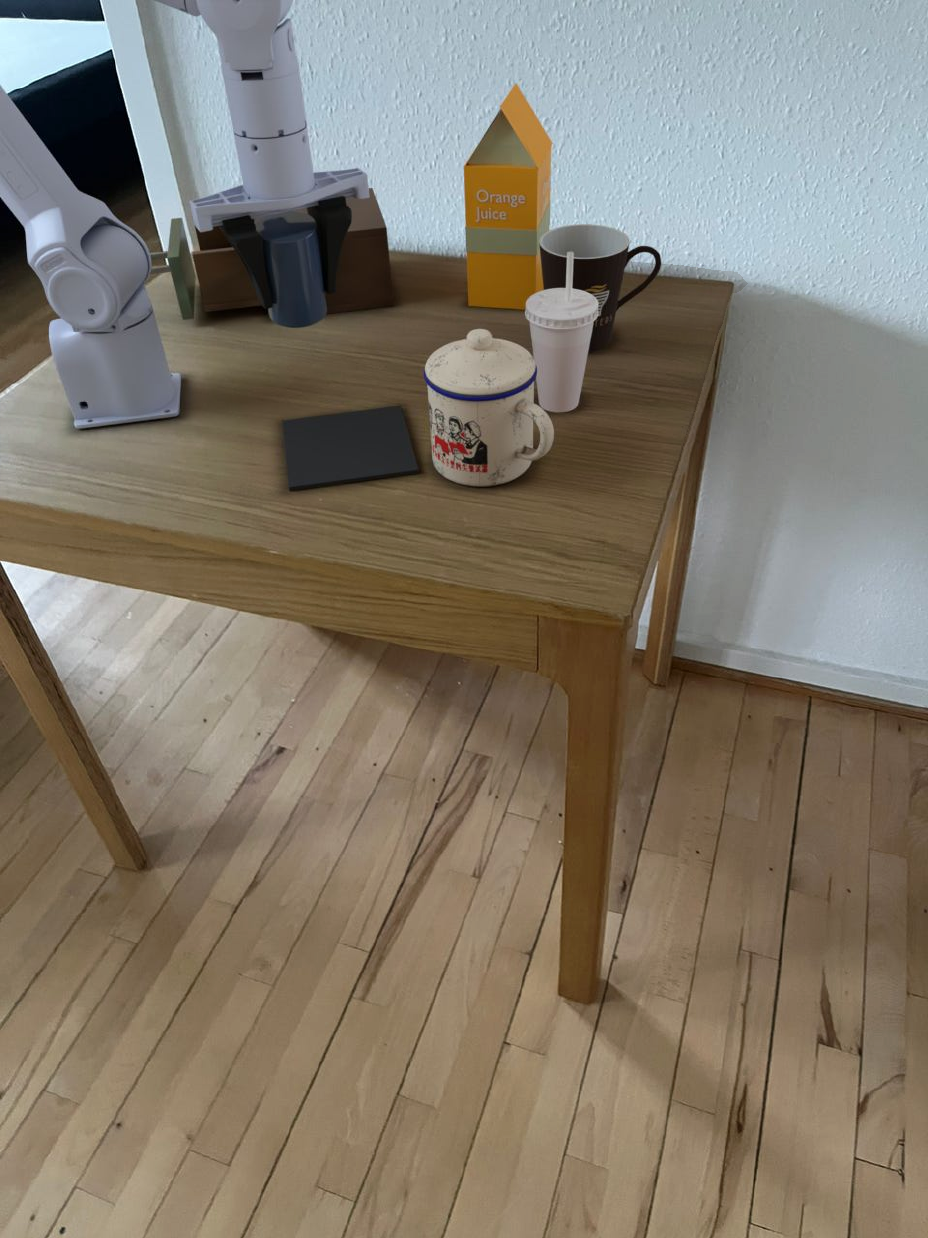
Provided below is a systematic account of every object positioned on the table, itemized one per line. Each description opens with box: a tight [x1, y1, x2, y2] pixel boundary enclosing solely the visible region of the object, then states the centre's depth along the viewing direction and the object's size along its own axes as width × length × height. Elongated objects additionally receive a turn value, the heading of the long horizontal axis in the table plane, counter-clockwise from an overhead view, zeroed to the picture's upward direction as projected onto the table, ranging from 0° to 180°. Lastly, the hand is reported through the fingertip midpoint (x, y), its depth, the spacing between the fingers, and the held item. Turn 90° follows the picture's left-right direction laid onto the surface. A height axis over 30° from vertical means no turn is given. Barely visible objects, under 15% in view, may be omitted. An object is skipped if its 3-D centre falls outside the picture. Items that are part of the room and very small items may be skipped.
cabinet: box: [254, 187, 394, 321], centre depth 106 cm, size 14×13×9 cm
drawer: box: [150, 217, 262, 321], centre depth 105 cm, size 17×11×7 cm
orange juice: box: [463, 82, 554, 311], centre depth 100 cm, size 8×9×20 cm
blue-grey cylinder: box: [255, 211, 327, 329], centre depth 82 cm, size 5×5×8 cm
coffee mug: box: [539, 223, 662, 354], centre depth 94 cm, size 12×9×10 cm
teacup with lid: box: [423, 328, 555, 487], centre depth 77 cm, size 12×9×12 cm
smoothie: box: [524, 252, 599, 413], centre depth 84 cm, size 6×6×14 cm
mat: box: [282, 404, 420, 492], centre depth 84 cm, size 11×11×1 cm
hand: (297, 296), depth 83 cm, fingers closed on blue-grey cylinder, 5 cm apart
